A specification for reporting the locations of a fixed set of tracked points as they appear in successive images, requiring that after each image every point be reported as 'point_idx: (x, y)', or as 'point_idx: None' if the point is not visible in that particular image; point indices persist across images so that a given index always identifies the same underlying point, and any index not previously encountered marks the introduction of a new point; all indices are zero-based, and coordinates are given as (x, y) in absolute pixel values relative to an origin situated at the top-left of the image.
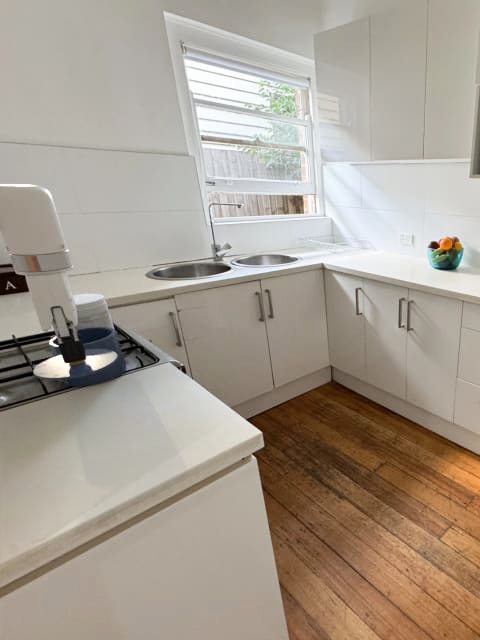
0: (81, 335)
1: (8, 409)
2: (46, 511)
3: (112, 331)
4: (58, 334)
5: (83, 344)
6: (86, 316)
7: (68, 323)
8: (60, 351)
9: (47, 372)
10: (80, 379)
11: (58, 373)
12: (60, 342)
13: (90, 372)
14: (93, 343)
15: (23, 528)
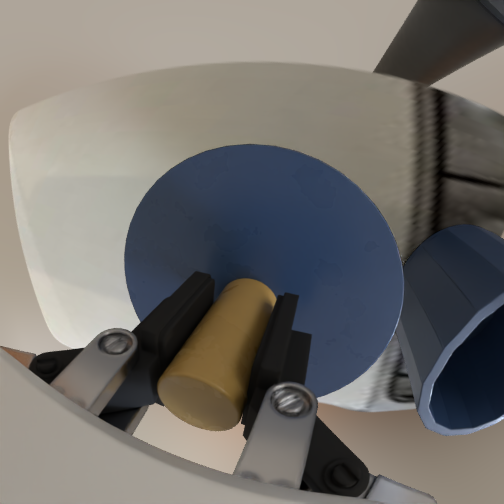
0: None
1: (413, 85)
2: (29, 137)
3: (457, 431)
4: (37, 369)
5: (439, 364)
6: None
7: (303, 487)
8: (166, 300)
9: (208, 192)
10: (420, 259)
11: (171, 223)
12: (101, 340)
13: (132, 299)
14: (420, 386)
15: (23, 120)
